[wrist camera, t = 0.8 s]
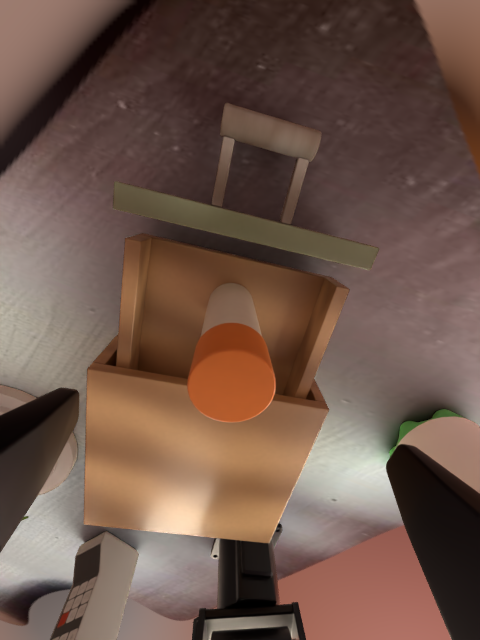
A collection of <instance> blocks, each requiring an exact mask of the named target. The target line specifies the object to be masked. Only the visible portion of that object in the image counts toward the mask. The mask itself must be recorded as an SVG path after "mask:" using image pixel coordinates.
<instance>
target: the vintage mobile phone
mask: <svg viewBox="0 0 480 640" xmlns="http://www.w3.org/2000/svg"><path fill="white" fill-rule="evenodd" d="M138 556H139V553H138V551H137V550H136V549H134V548H133V547H131V546H129V545H128V544H126V543H125V542H123V541H122V540H120V539H119V538H117V537H116V536H114V535H112V534H111V533H109V532H108V531H106V532H104V533H102V534H100V535H98V536H96V537H95V538H93V539H91V540H89V541H87V542H85V543H84V544H82V545H81V546H80V547H79V550H78V552H77V554H76V558H75V567H74V577H73V585H72V587H71V590H70V592H69V595H68V597H67V600H66V602H65V604H64V607H63V609H62V612H61V614H60V616H59V619H58V621H57V624H56V626H55V629H54V631H53V633H52V636H51V638H50V640H117V636H118V632H119V628H120V625H121V620H122V617H123V613H124V609H125V606H126V602H127V598H128V594H129V590H130V587H131V583H132V579H133V575H134V571H135V567H136V564H137V560H138Z"/></svg>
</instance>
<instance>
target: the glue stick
mask: <svg viewBox="0 0 480 640" xmlns="http://www.w3.org/2000/svg"><path fill="white" fill-rule="evenodd" d="M187 390H188V394H189V397H190V400H191V401H192V403H193V405H194V406H195V407H196V408H197V409H198V410H199V411H200V412H201V413H202V414H204V415H205V416H207V417H209V418H211V419H214V420H217V421H221V422H241V421H245V420H248V419H251V418H253V417H255V416H257V415H259V414H260V413H261V412H263V411H264V410H265V409H266V408H267V407H268V405H269V404H270V403H271V401H272V399H273V397H274V394H275V390H276V379H275V374H274V371H273V367H272V363H271V359H270V356H269V352H268V348H267V345H266V343H265V341H264V339H263V338H262V335H261V331H260V327H259V323H258V319H257V315H256V311H255V307H254V303H253V299H252V296H251V294H250V293H249V291H248V290H247V289H246V288H245V287H243V286H241V285H239V284H235V283H226V284H223V285H220V286H219V287H217V288H216V289H215V290H214V291H213V292H212V294H211V295H210V298H209V301H208V306H207V310H206V315H205V319H204V324H203V328H202V332H201V337H200V339H199V341H198V342H197V345H196V348H195V352H194V356H193V360H192V364H191V368H190V372H189V376H188V381H187Z"/></svg>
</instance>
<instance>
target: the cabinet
mask: <svg viewBox="0 0 480 640" xmlns="http://www.w3.org/2000/svg"><path fill="white" fill-rule="evenodd" d="M117 347H118V335H117V336H116V337H115V338H114V339H113V340H112V341H111V342H110V343H109V345H108V346H107V347H106V348H105V349H104V350H103V351H102V352H101V354H100V355H99V356H98V357H97V358H96V359H95V360H94V362H93V363H92V364H91V365H90V366H89V367H88V369H87V399H86V443H85V487H84V524H85V525H94V526H104V527H114V528H124V529H134V530H143V531H153V532H163V533H173V534H183V535H192V536H202V537H212V538H222V539H232V540H241V541H251V542H261V543H270V540H271V538H272V536H273V534H274V531H275V529H276V527H277V525H278V523H279V520H280V518H281V516H282V514H283V511H284V509H285V507H286V505H287V503H288V500H289V498H290V496H291V494H292V492H293V489H294V487H295V485H296V483H297V480H298V478H299V476H300V474H301V472H302V469H303V467H304V465H305V463H306V461H307V458H308V456H309V454H310V452H311V449H312V447H313V445H314V443H315V441H316V438H317V436H318V434H319V432H320V430H321V427H322V425H323V423H324V421H325V418H326V416H327V414H328V412H329V408H328V406H327V404H326V403H325V400H324V398H323V396H322V394H321V392H320V390H319V388H318V386H317V384H316V382H315V380H313V382H312V385H311V387H310V390H309V392H308V395H307V397H306V399H302V398H296V397H290V396H284V395H279V394H274V397H273V399H272V401H271V403H270V404H269V405H268V407H267V408H266V409H265V410H264V411H263V412H261V413H260V414H259V415H257V416H255V417H253V418H251V419H248V420H245V421H241V422H221V421H217V420H214V419H211V418H209V417H207V416H205V415H204V414H202V413H201V412H200V411H199V410H198V409H197V408H196V407H195V406H194V405H193V403H192V401H191V400H190V397H189V394H188V390H187V381H188V379H185V378H180V377H174V376H168V375H162V374H156V373H151V372H145V371H139V370H133V369H127V368H122V367H116V361H117Z"/></svg>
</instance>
